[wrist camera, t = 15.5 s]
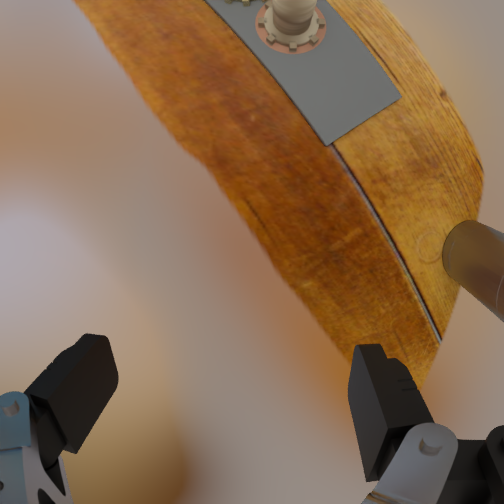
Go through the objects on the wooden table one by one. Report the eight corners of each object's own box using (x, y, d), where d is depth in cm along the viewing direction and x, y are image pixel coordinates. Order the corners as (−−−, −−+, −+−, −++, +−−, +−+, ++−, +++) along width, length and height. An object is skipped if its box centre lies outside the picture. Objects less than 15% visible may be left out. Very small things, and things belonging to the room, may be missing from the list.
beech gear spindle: (320, 1, 30) (333, -38, 21) (325, 53, 32) (340, 23, 23) (257, 0, 31) (252, -40, 21) (259, 52, 33) (254, 21, 23)
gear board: (397, 98, 35) (402, 96, 33) (324, 146, 37) (326, 145, 36) (257, -57, 29) (256, -63, 27) (186, -17, 31) (183, -22, 30)
